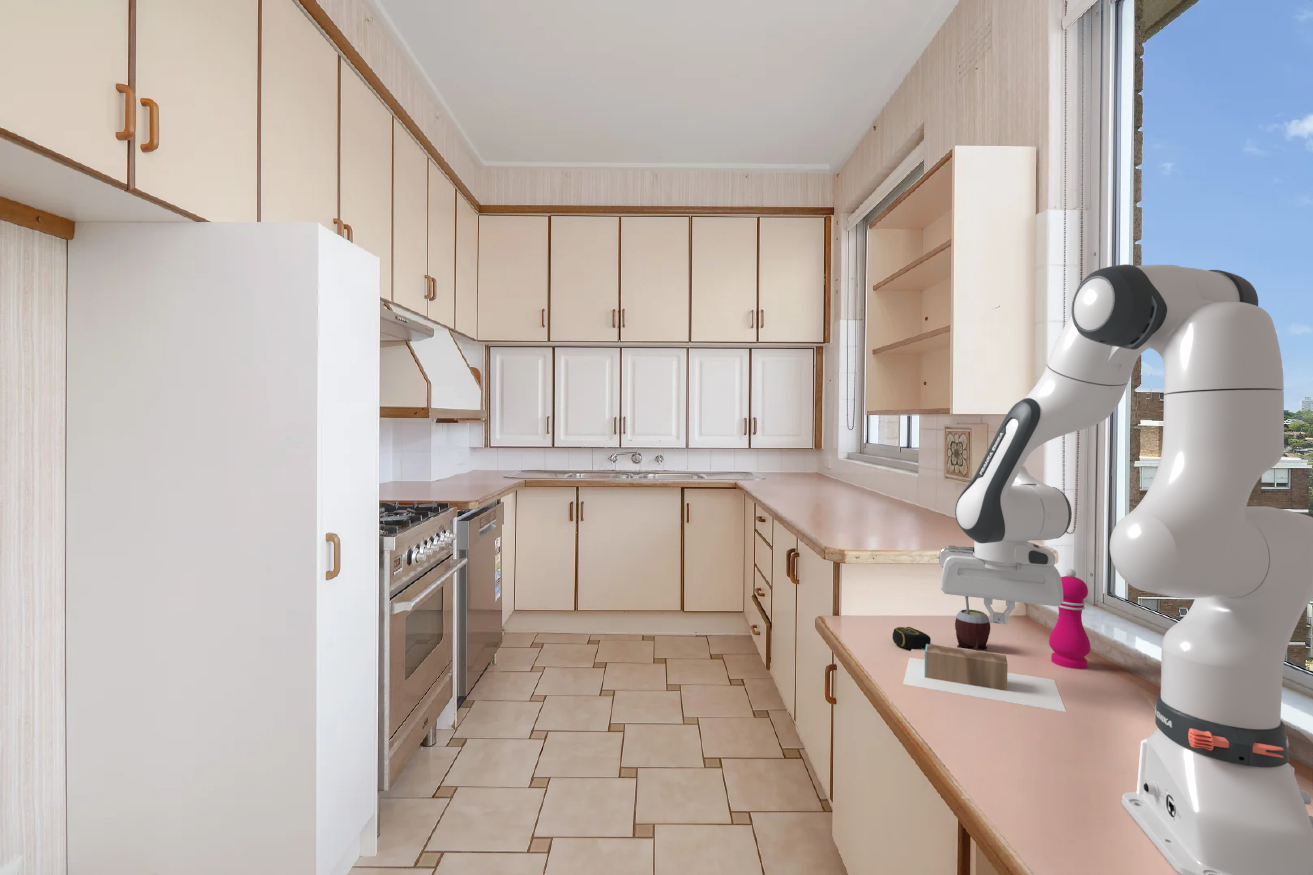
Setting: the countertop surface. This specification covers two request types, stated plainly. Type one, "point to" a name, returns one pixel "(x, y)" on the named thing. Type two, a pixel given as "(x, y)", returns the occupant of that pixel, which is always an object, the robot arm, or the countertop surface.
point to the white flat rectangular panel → (1018, 689)
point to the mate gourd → (972, 629)
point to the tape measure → (910, 638)
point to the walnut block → (966, 667)
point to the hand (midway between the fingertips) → (998, 622)
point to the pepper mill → (1070, 625)
